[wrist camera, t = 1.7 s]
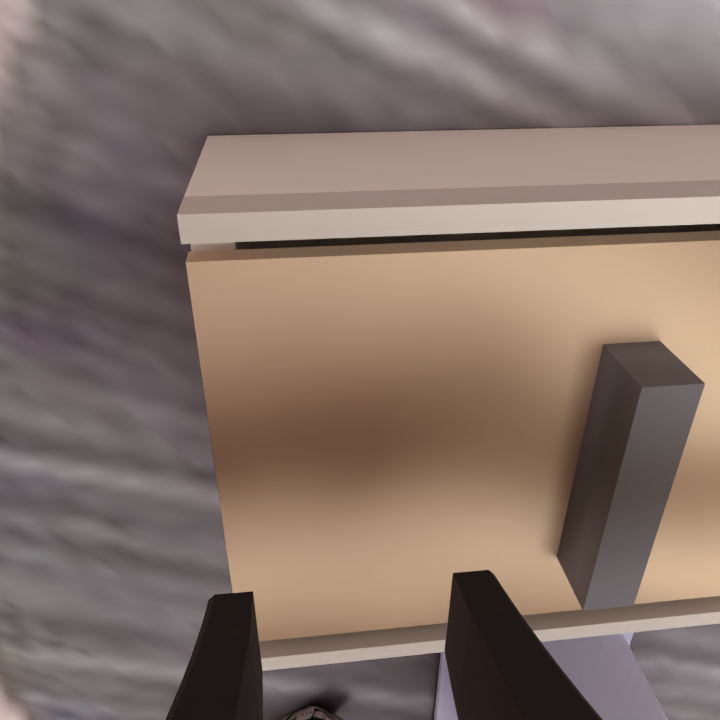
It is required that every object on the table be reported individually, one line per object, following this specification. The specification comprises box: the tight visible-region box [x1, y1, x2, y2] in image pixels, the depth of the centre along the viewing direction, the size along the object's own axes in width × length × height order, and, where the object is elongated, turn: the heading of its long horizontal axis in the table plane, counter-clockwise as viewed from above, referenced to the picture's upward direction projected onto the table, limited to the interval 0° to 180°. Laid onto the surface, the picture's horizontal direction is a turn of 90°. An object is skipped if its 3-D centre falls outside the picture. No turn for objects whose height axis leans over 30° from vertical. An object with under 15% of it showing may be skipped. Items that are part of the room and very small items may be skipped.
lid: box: [186, 231, 720, 642], centre depth 14 cm, size 10×14×2 cm
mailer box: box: [177, 124, 720, 671], centre depth 17 cm, size 12×14×6 cm
